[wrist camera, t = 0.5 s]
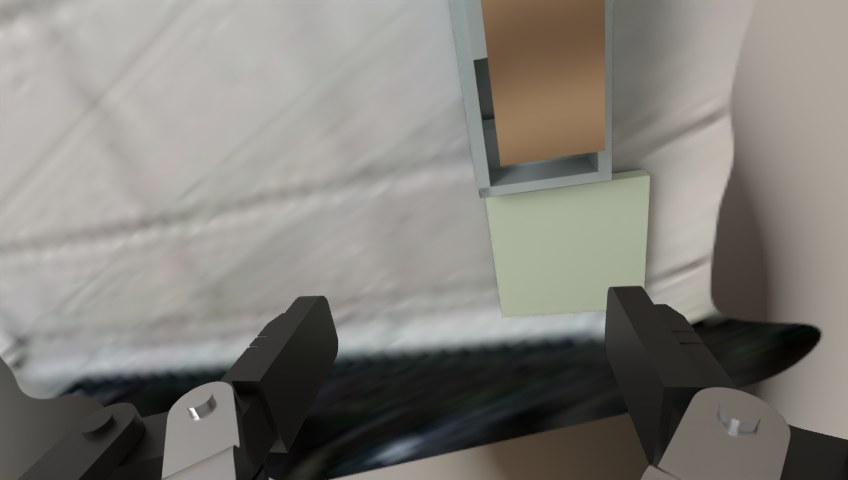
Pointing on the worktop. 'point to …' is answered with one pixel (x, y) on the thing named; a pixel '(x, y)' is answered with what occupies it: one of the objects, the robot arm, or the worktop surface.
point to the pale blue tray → (483, 119)
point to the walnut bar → (546, 77)
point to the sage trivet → (569, 244)
